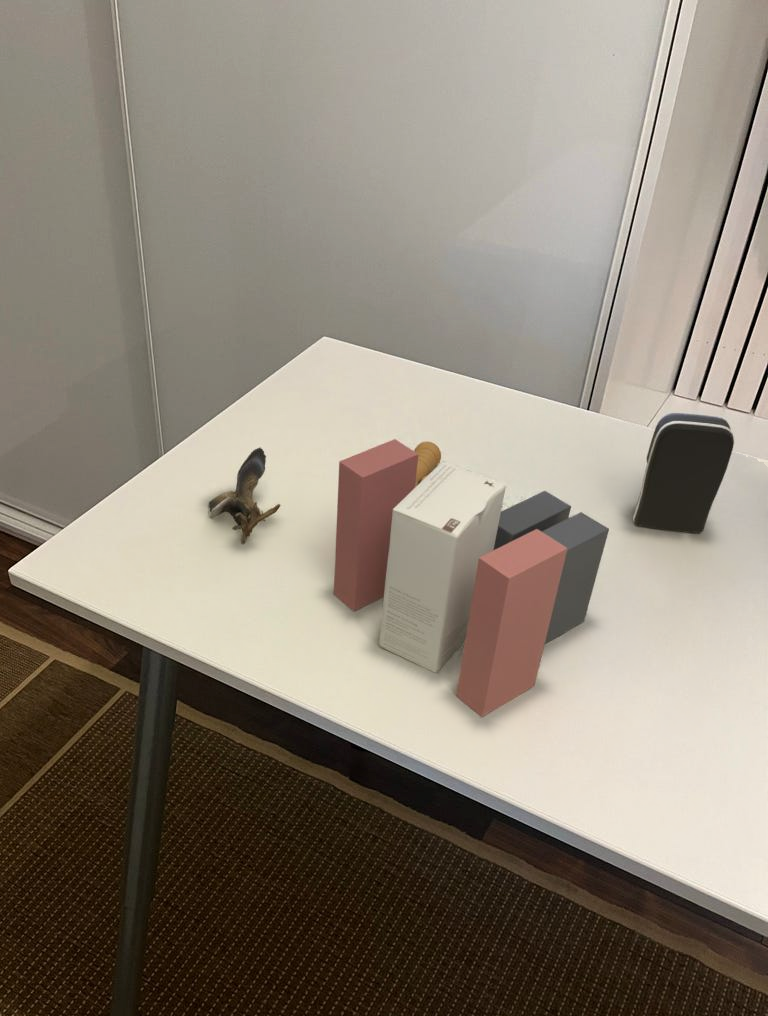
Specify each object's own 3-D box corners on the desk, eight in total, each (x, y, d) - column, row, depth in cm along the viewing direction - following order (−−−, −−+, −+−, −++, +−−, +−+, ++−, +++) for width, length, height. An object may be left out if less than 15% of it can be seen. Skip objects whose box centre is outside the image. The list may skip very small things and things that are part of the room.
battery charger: (700, 514, 98) (735, 412, 90) (704, 536, 95) (741, 432, 87) (629, 506, 99) (657, 404, 91) (631, 527, 96) (661, 424, 88)
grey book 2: (558, 604, 87) (581, 511, 81) (584, 621, 85) (609, 528, 79) (503, 634, 84) (521, 541, 77) (528, 653, 82) (550, 559, 76)
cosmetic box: (423, 599, 88) (441, 456, 78) (483, 624, 85) (510, 479, 75) (375, 650, 83) (387, 504, 73) (437, 679, 80) (459, 531, 70)
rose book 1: (383, 570, 91) (395, 438, 81) (404, 586, 89) (418, 453, 80) (333, 594, 88) (338, 461, 79) (354, 611, 86) (362, 477, 77)
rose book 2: (508, 665, 81) (537, 528, 72) (534, 686, 79) (567, 548, 70) (455, 695, 79) (478, 557, 69) (481, 717, 77) (509, 578, 67)
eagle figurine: (301, 528, 94) (282, 465, 99) (263, 487, 88) (244, 423, 94) (236, 566, 96) (220, 502, 101) (195, 528, 91) (181, 463, 96)
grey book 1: (525, 581, 90) (544, 490, 83) (550, 598, 88) (571, 506, 81) (470, 610, 87) (486, 517, 80) (495, 628, 85) (512, 535, 78)
